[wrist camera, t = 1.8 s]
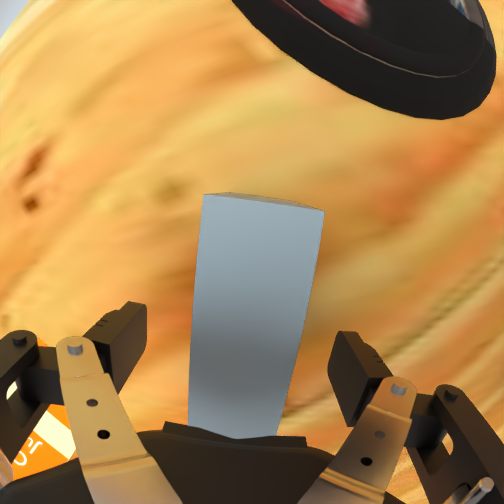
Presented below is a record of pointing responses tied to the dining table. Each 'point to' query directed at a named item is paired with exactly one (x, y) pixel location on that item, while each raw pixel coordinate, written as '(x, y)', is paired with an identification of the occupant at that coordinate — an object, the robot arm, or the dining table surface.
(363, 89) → the wall clock
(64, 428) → the orange juice
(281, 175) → the dining table surface
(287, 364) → the pale blue flat slab
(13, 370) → the robot arm
